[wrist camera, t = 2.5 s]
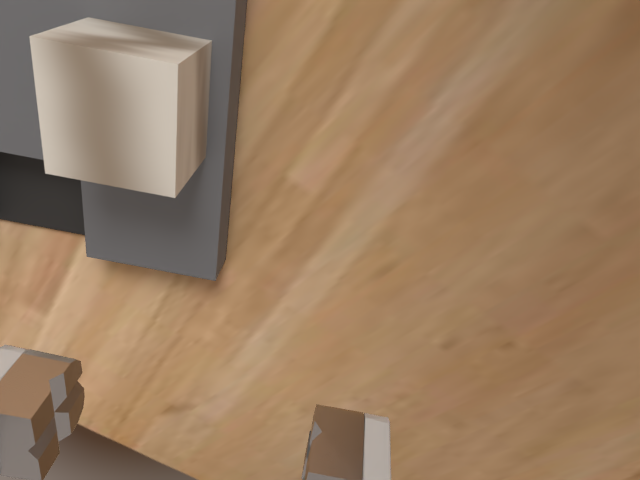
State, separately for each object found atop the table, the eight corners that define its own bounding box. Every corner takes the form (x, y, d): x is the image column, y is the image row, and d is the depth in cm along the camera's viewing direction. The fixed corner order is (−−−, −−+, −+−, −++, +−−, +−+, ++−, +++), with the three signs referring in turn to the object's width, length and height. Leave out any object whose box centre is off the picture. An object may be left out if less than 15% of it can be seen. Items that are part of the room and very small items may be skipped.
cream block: (212, 40, 26) (178, 64, 21) (205, 156, 29) (175, 198, 24) (88, 17, 26) (29, 36, 21) (95, 136, 29) (45, 173, 24)
